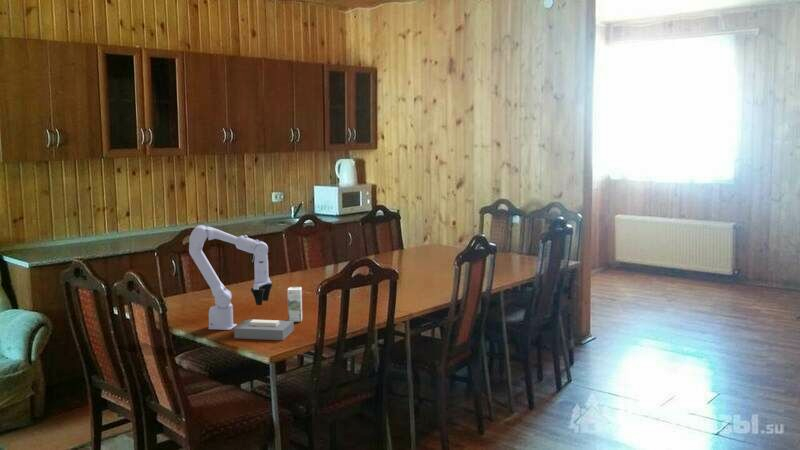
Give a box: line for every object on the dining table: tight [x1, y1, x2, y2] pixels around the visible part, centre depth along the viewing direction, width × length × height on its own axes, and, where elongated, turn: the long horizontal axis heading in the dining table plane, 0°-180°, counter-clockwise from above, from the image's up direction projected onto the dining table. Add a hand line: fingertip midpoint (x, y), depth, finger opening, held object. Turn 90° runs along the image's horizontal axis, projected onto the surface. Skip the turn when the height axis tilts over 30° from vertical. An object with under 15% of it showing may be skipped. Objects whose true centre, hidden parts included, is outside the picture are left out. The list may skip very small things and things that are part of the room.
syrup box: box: [286, 286, 303, 323], centre depth 313 cm, size 6×6×14 cm
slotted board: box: [233, 318, 295, 341], centre depth 293 cm, size 20×14×4 cm
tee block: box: [250, 318, 279, 327], centre depth 293 cm, size 11×4×5 cm, turn 82°
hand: (262, 302), depth 304 cm, fingers open, 7 cm apart
